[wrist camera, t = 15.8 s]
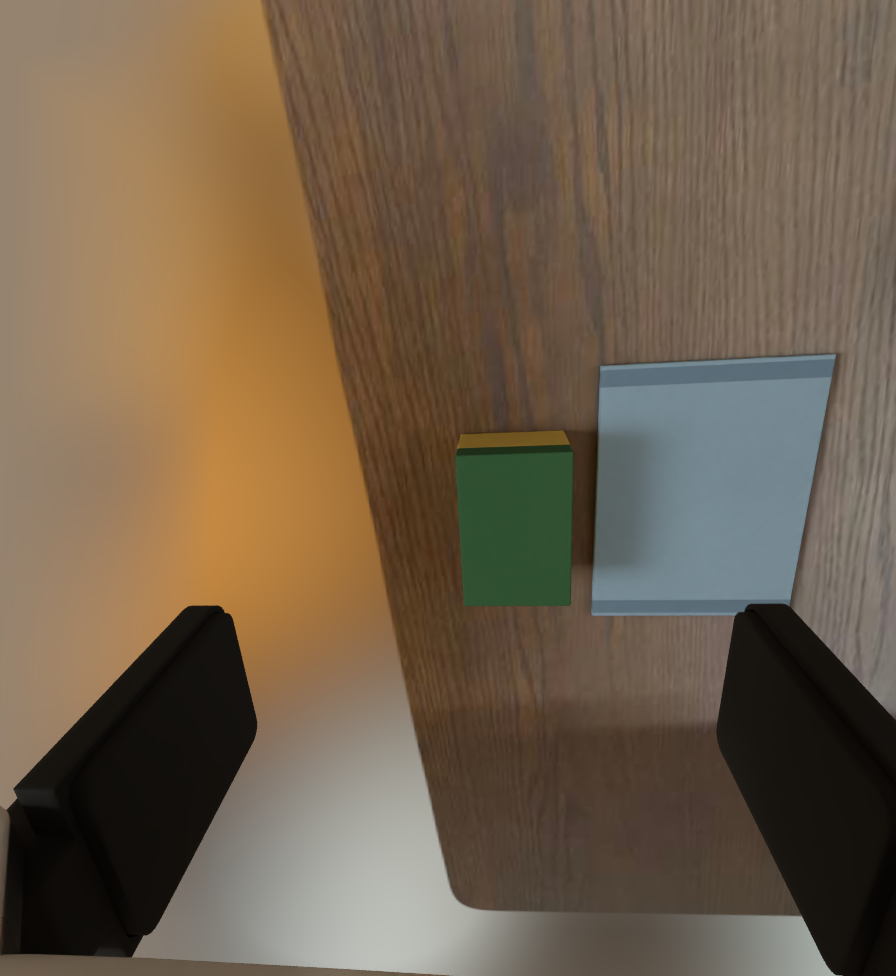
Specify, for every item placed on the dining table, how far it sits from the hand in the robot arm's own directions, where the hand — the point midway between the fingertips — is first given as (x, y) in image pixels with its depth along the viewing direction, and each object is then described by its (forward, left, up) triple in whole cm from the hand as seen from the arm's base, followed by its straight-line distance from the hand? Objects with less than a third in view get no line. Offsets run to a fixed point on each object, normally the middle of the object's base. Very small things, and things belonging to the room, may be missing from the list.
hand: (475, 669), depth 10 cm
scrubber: (+1, -6, -22) cm, 23 cm away
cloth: (+12, -6, -22) cm, 26 cm away
